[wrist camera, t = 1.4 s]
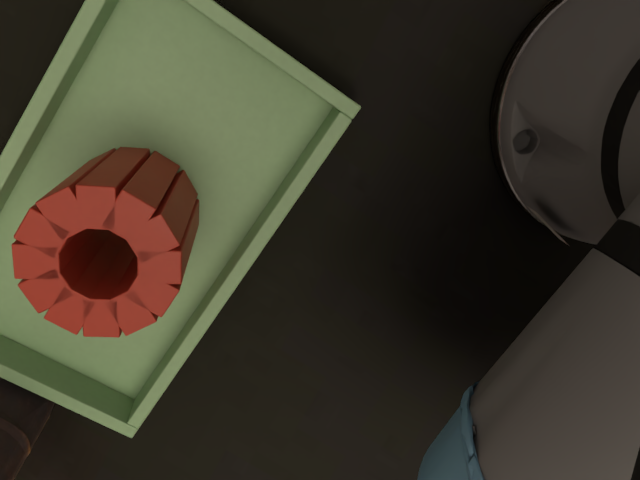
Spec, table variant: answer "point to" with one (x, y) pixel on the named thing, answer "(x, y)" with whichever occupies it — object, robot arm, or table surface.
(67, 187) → the red grooved hollow cylinder
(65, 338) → the box
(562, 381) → the robot arm
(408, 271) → the table surface
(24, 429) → the book
